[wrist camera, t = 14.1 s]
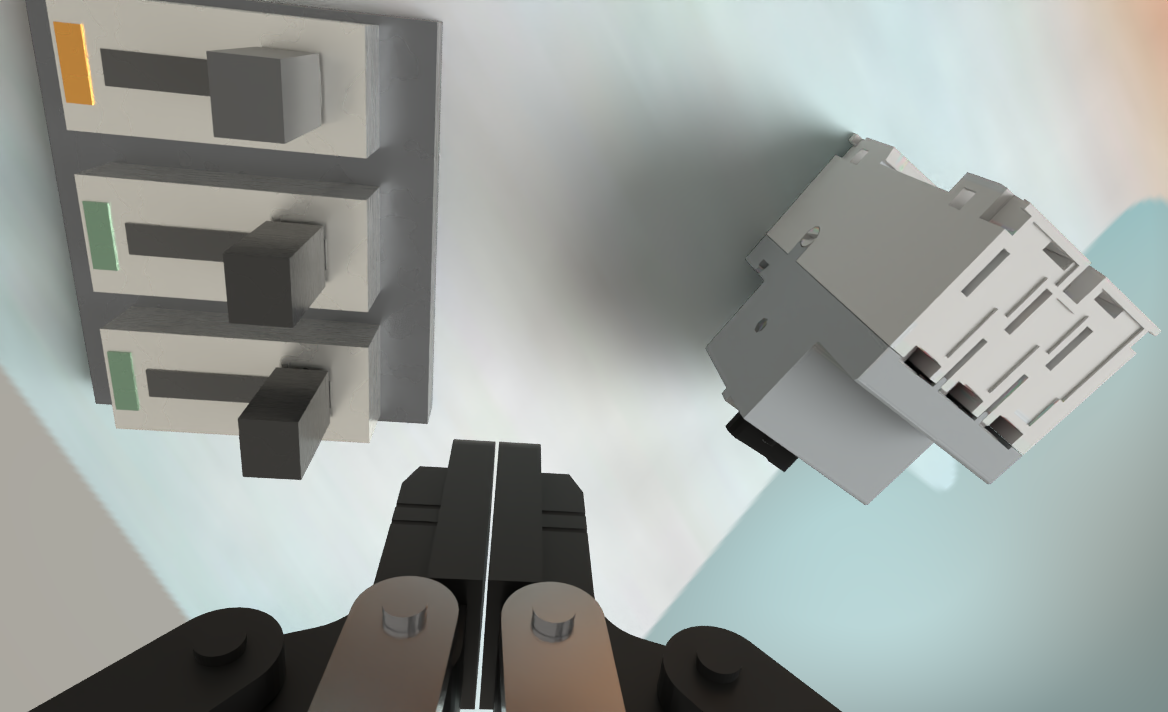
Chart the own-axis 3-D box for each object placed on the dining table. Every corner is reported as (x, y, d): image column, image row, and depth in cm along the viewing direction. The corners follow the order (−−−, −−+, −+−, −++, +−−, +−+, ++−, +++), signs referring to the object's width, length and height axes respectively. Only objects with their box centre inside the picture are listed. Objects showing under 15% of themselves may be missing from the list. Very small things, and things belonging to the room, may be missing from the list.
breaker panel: (49, -23, 33) (-145, -41, 23) (442, 21, 34) (408, 21, 25) (115, 386, 41) (-10, 495, 31) (432, 406, 42) (403, 515, 33)
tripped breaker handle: (256, 46, 30) (205, 50, 25) (319, 53, 30) (280, 58, 25) (261, 119, 31) (213, 137, 26) (321, 126, 31) (284, 143, 26)
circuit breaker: (671, 343, 42) (738, 499, 28) (854, 133, 38) (1036, 196, 24) (767, 413, 44) (873, 589, 30) (950, 221, 40) (1167, 325, 26)
